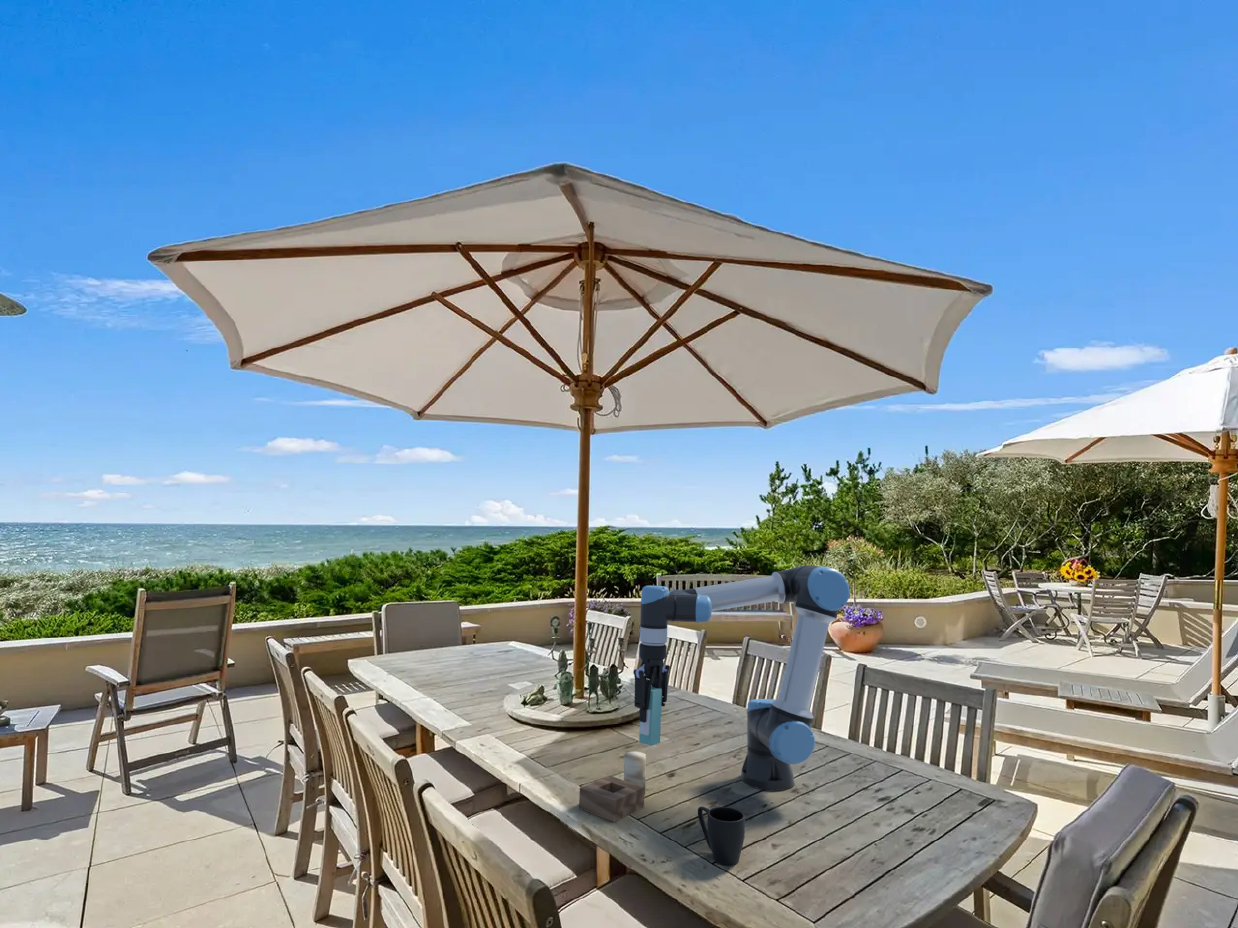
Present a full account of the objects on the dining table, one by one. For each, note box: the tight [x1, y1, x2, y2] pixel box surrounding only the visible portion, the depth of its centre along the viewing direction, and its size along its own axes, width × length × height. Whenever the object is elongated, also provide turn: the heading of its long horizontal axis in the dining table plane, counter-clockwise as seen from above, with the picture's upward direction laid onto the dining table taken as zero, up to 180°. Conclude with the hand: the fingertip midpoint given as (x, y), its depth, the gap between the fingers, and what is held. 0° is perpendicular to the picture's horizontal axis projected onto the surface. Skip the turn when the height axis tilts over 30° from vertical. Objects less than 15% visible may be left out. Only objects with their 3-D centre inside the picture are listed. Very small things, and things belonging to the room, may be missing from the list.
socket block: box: [578, 775, 645, 823], centre depth 167 cm, size 12×12×5 cm
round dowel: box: [623, 750, 647, 796], centre depth 177 cm, size 6×6×10 cm
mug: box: [697, 806, 746, 867], centre depth 142 cm, size 8×12×10 cm
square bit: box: [638, 687, 663, 747], centre depth 172 cm, size 4×4×14 cm
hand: (649, 732), depth 171 cm, fingers closed on square bit, 4 cm apart
